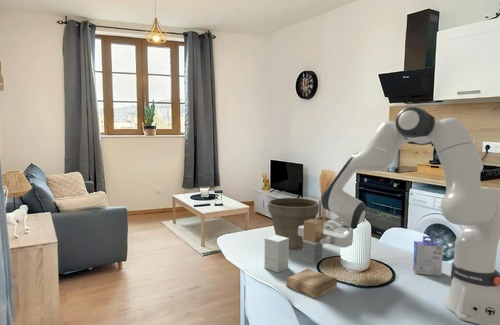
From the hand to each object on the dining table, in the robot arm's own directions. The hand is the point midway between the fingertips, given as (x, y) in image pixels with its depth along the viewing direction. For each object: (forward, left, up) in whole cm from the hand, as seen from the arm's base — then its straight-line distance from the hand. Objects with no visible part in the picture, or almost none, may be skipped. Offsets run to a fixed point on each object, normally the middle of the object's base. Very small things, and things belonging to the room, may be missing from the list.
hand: (311, 239), depth 124 cm
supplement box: (+20, -5, -18) cm, 27 cm away
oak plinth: (0, -1, -18) cm, 18 cm away
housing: (0, -1, -7) cm, 8 cm away
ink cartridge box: (-25, -46, -18) cm, 55 cm away
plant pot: (+34, -34, -18) cm, 51 cm away
